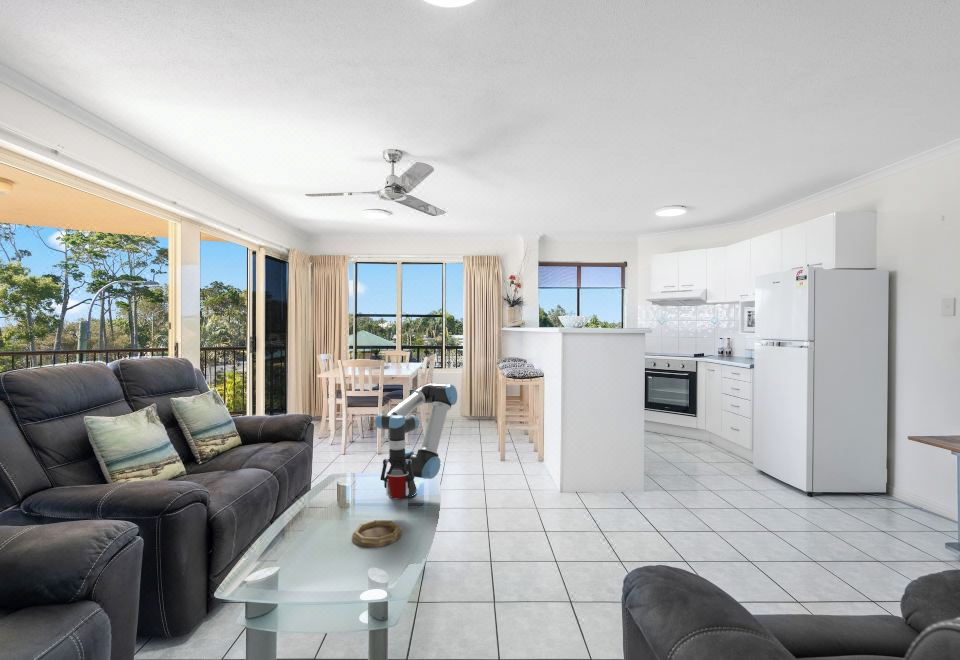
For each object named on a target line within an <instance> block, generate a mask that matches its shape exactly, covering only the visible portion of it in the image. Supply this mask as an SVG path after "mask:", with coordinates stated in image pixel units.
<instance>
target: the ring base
mask: <svg viewBox="0 0 960 660" xmlns="http://www.w3.org/2000/svg"><path fill="white" fill-rule="evenodd" d="M402 536H403V530H402V528H401V525H399V524H398V523H396V522H395V521H393V520H388V519H387V520H383V519H374V520H370V521H368V522H364V523H361V524H359V525H358V526H357V528H356V529H355V530H354V531H353V533H352V535H351V540H352V542H353V544H355V545H356V546H359V547H363V548H381V547H386V546H390V545H393V544H394V543H396V542H398V541H399V540H400V539H401V538H402Z"/></svg>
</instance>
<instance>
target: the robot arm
mask: <svg viewBox="0 0 960 660" xmlns="http://www.w3.org/2000/svg"><path fill="white" fill-rule="evenodd" d="M457 402H458V390H457V388H456V386H455V385H454V384H452V383H451V384H450V383H435V382H434V383H433V382H430V383H426V384H423V385H420V386H418V387H417V388H416V389H414V390H413V391H412V392H411V393H410V395H409V396H408V397H406V398H405V399H404V400H402V401H401V402H400V403H399V404H397V405H396V406H394V407H393V408H392V409H390V410H389V411H387V412H386V413H380V414H378V415H377V416H376V417H375V421H374V422H375V427H376V428H378V429H380V430H387V431H389V433H388V435H389V436H388V437H389V438H388V439H389V441H388V443H389V444H388V445H389V452H388V453H389V455H388V458H384V459H383V460H382V468H381V469H382V470H381V475H380V481H383V484H384V488H385V490H386V493H385V495H386V496H389V497H390V498H392V497H391V493H390V488H389V482H388V477H387V475H386V472H388V473H387V474H389V475H390V474H391V472H392V470H402V471H403V473H404V475H405V474H407V473H408V472H409V474H408V475H407V476H406V484H405V490H404V495H403V497H402V498H401V499H407V498H406V497H409V498H411V497H410V496H412V495H414V494H415V493H416V492H417V491H418V490H417V485H416V483H415V478H421V479H424V480H429V479H430V480H431V479H434V478H435V477H436V476H437V475H438V474H439V471H440V470H441V466H442V465H441V459H440V457H439V453H438V448H439V444H440V442H441V441H440V440H441V437H442V433H443V429H444V425H445V422H446V418H447V413H448V411H450V410H451V409H452V406H454V405H456V403H457ZM424 404H430V405H431V406H432V408H431V412H430V417H429V419H428V423H427V428H426V430H425V434H424V439H423V440H422V444H421V445H422V446H421V448H419V449H418V450H417V452H416V454H415V451H414V450H413V449H406V434H407V433H410V432H413V431H414V430H416V429H418V427H419V426H420V420H419V418H418V417H417V416H416V415H414V414H410V413H412V411H414V410H415V409H417V408H418V407H420V406H423V405H424ZM388 464H390V467H389V468H388V471H386V470H387V467H388ZM407 471H408V472H407ZM385 475H386V476H385ZM416 494H417V493H416ZM414 496H415V495H414ZM412 497H413V496H412Z"/></svg>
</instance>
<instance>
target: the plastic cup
mask: <svg viewBox="0 0 960 660" xmlns="http://www.w3.org/2000/svg"><path fill="white" fill-rule="evenodd" d="M407 472H408V471H407ZM387 473H388V471H386V472H385V475H387V477H388V482H389V488H390V493H391V497H390V498H392V499H395V500H399V499H403V498H402V497H403V495H404V490H405V484H406V476H407V475H408V474H409V472H408V473H407V474H405V475H404V473H403V471H402V470H392V472H391V474H390V475H389V474H387Z"/></svg>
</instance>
